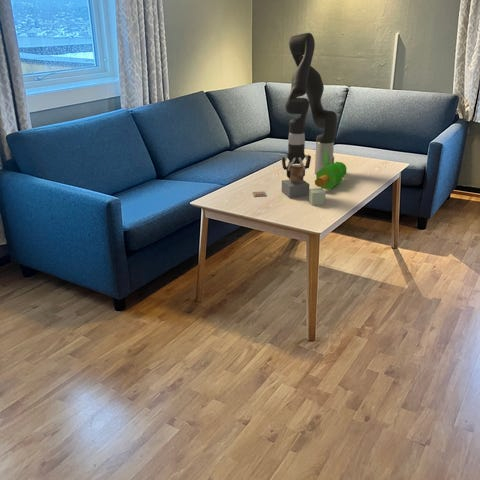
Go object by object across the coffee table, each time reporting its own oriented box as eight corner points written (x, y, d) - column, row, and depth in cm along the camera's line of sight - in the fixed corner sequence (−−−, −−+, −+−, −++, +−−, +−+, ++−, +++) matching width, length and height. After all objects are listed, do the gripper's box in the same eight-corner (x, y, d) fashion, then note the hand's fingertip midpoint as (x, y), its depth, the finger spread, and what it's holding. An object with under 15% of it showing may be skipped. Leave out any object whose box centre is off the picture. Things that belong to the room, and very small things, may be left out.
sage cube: (321, 200, 244) (322, 188, 242) (325, 204, 239) (325, 192, 236) (308, 201, 243) (309, 188, 241) (312, 205, 238) (312, 193, 235)
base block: (300, 190, 259) (300, 178, 256) (309, 196, 250) (309, 184, 248) (281, 192, 256) (281, 180, 254) (289, 198, 247) (289, 186, 245)
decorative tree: (314, 166, 251) (340, 150, 273) (306, 186, 257) (332, 169, 280) (334, 179, 247) (359, 161, 269) (325, 198, 254) (350, 180, 276)
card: (264, 192, 256) (264, 190, 256) (266, 196, 251) (266, 194, 250) (252, 192, 255) (252, 191, 255) (254, 196, 250) (254, 195, 250)
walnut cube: (300, 176, 253) (300, 164, 250) (303, 180, 247) (303, 168, 245) (288, 177, 252) (288, 165, 250) (290, 181, 247) (291, 168, 244)
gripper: (309, 139, 247) (308, 174, 254) (279, 141, 245) (279, 175, 252) (313, 143, 240) (312, 178, 247) (282, 144, 239) (282, 180, 245)
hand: (295, 177), depth 250 cm, fingers closed on walnut cube, 5 cm apart
